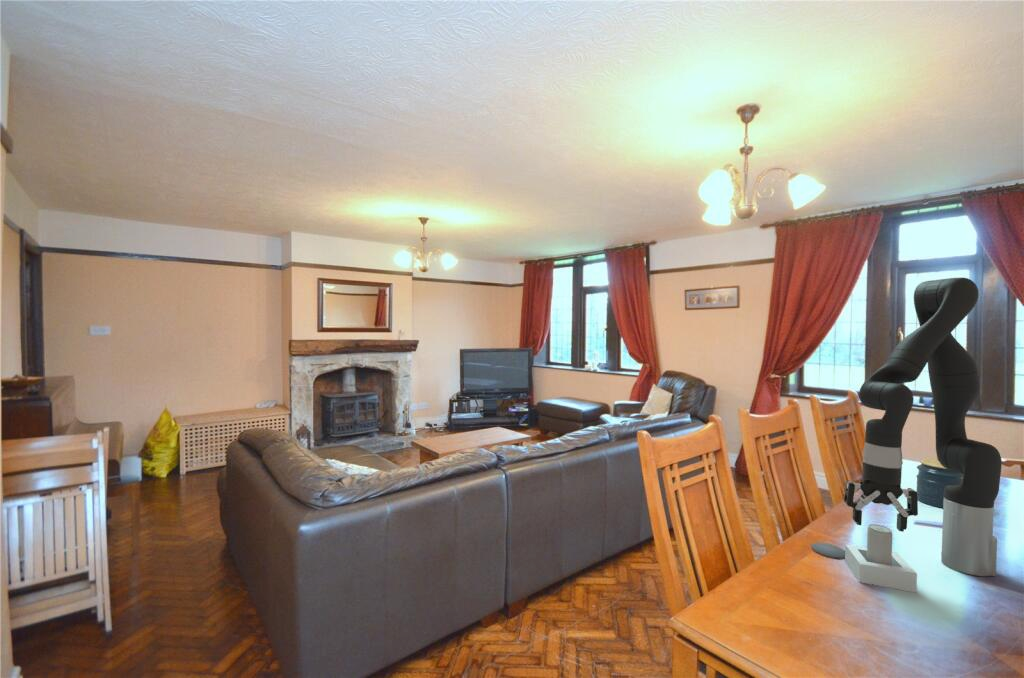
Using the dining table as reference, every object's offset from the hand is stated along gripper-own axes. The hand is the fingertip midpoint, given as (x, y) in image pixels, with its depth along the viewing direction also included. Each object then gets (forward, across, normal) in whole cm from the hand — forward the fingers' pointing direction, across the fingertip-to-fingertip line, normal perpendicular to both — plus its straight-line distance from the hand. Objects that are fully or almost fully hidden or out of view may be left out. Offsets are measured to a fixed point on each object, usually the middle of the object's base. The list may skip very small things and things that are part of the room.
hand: (878, 527), depth 113 cm
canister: (+11, -40, -69) cm, 81 cm away
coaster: (+12, +8, -10) cm, 18 cm away
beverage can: (+12, 0, 0) cm, 12 cm away
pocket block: (+12, 0, 0) cm, 12 cm away
